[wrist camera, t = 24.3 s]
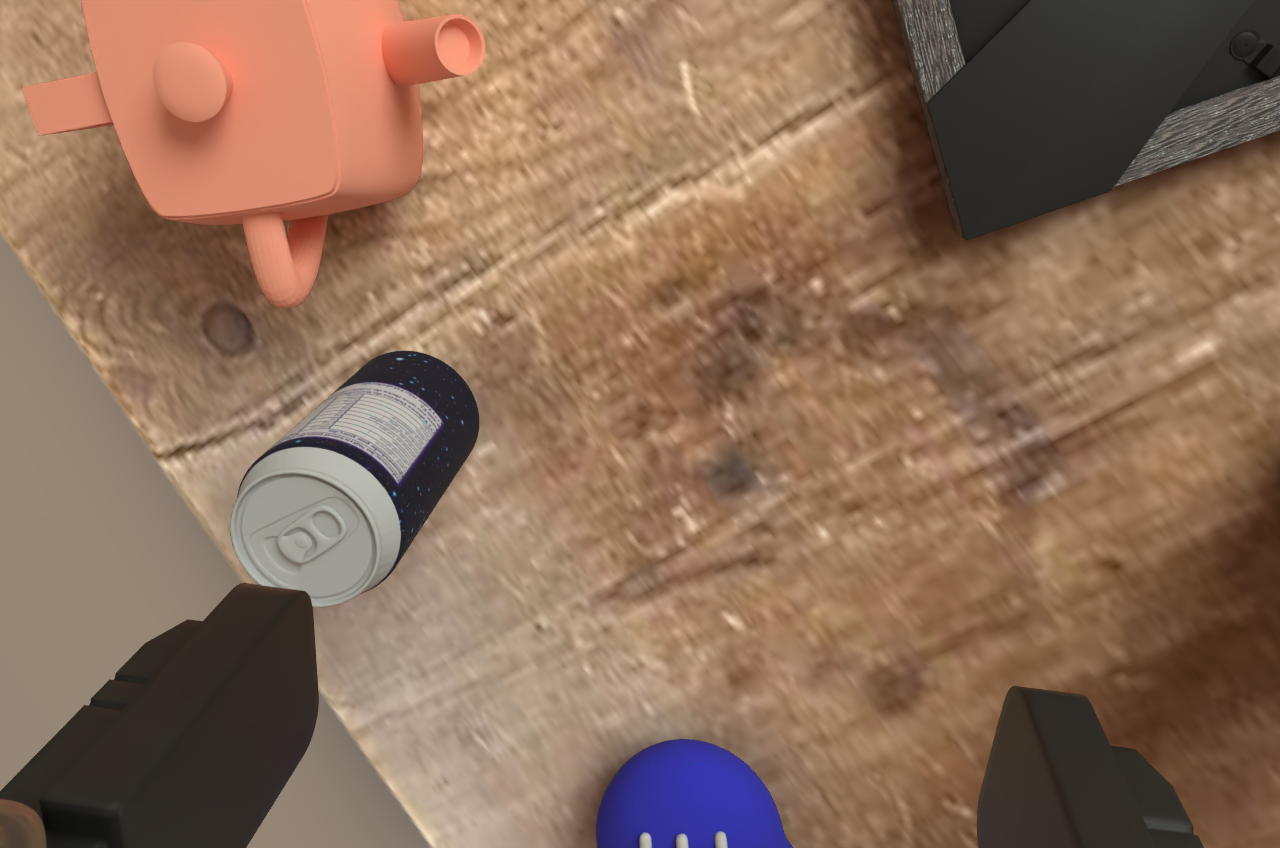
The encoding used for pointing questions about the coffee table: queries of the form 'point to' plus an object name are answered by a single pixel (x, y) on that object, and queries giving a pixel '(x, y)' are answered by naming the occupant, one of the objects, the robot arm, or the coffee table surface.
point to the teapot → (262, 112)
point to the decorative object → (688, 801)
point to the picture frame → (1083, 94)
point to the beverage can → (355, 479)
